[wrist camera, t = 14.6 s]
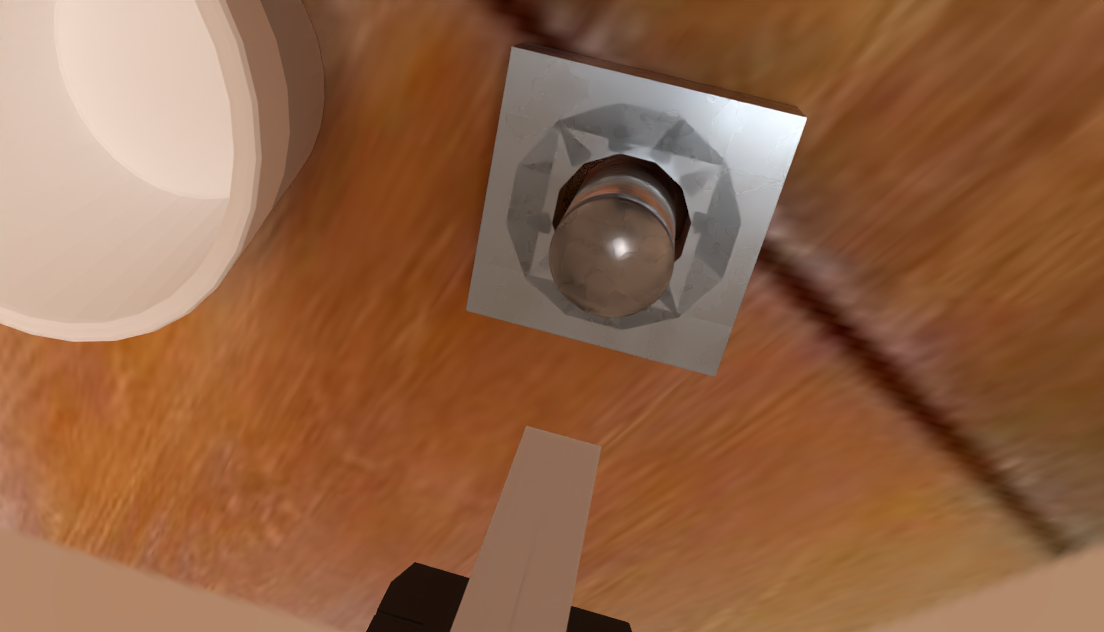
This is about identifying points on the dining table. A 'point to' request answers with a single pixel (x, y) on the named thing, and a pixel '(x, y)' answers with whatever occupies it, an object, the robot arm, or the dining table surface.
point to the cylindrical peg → (617, 238)
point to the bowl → (143, 153)
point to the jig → (647, 133)
